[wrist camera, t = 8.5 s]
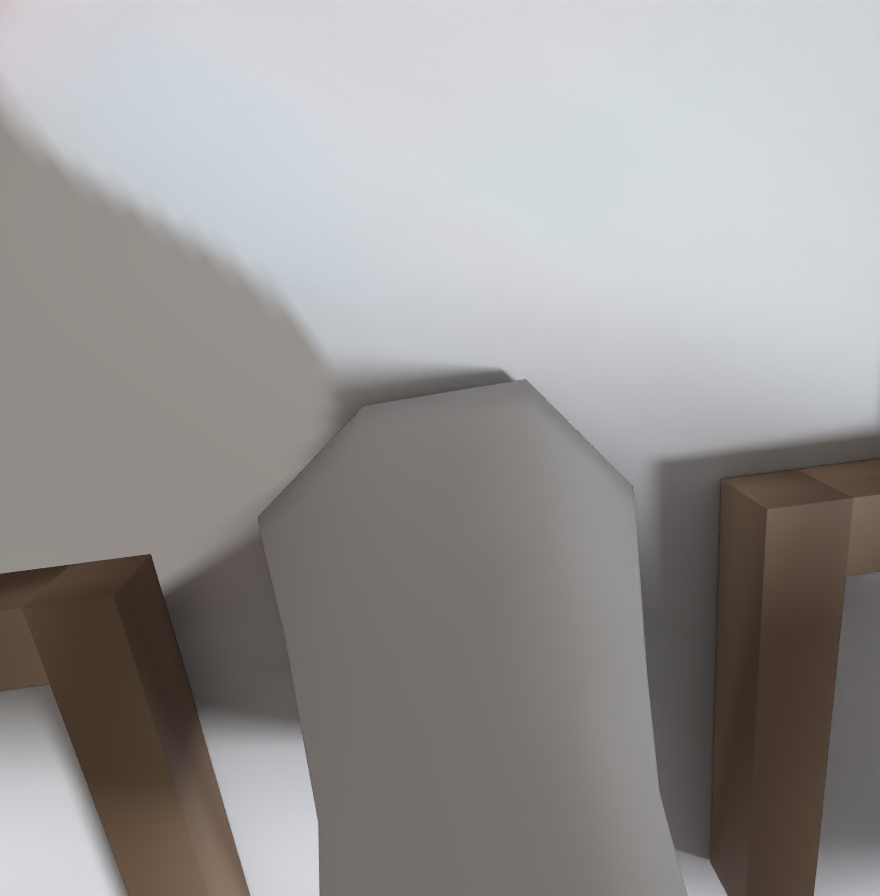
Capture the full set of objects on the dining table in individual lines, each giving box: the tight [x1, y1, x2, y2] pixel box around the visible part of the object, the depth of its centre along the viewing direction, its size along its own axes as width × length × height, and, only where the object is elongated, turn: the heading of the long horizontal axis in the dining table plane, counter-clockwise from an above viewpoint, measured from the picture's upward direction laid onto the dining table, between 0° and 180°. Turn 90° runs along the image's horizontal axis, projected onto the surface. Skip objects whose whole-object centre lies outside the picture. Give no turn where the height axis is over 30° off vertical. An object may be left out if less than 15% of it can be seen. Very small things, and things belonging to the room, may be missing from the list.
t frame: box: [0, 459, 880, 896], centre depth 10 cm, size 23×22×2 cm
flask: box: [258, 379, 687, 896], centre depth 7 cm, size 7×7×10 cm
